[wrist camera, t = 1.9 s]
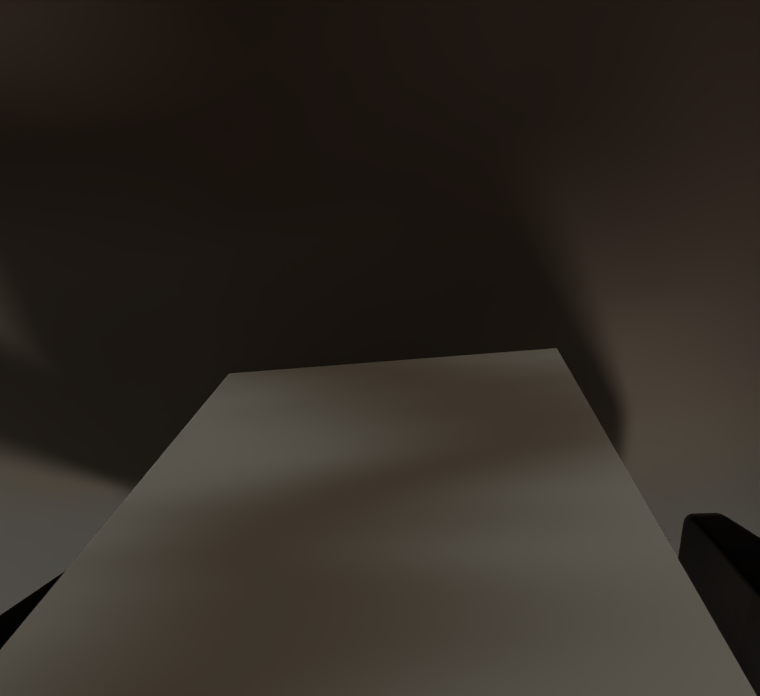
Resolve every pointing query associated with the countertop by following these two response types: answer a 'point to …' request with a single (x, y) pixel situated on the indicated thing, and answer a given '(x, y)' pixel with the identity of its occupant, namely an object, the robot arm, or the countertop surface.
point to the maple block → (380, 551)
